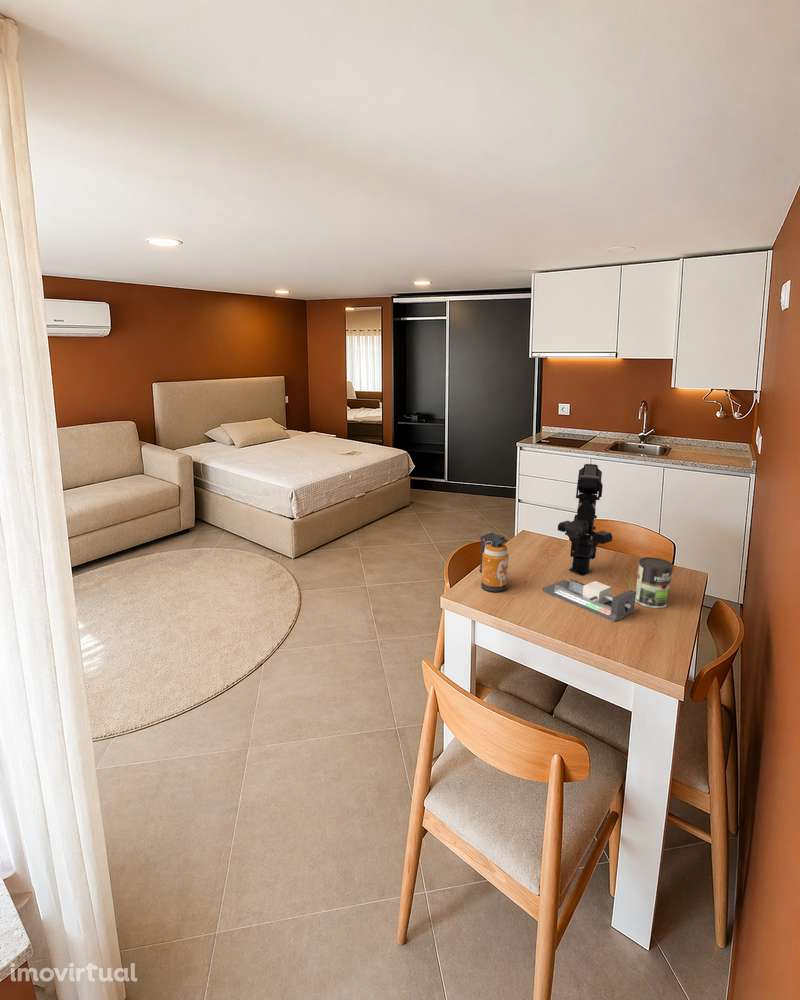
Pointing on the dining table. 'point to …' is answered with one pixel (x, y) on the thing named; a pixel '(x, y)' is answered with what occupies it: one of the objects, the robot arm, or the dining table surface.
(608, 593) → the white cube with rod
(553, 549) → the dining table surface
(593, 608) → the gauge track
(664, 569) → the coffee can
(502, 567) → the canister
